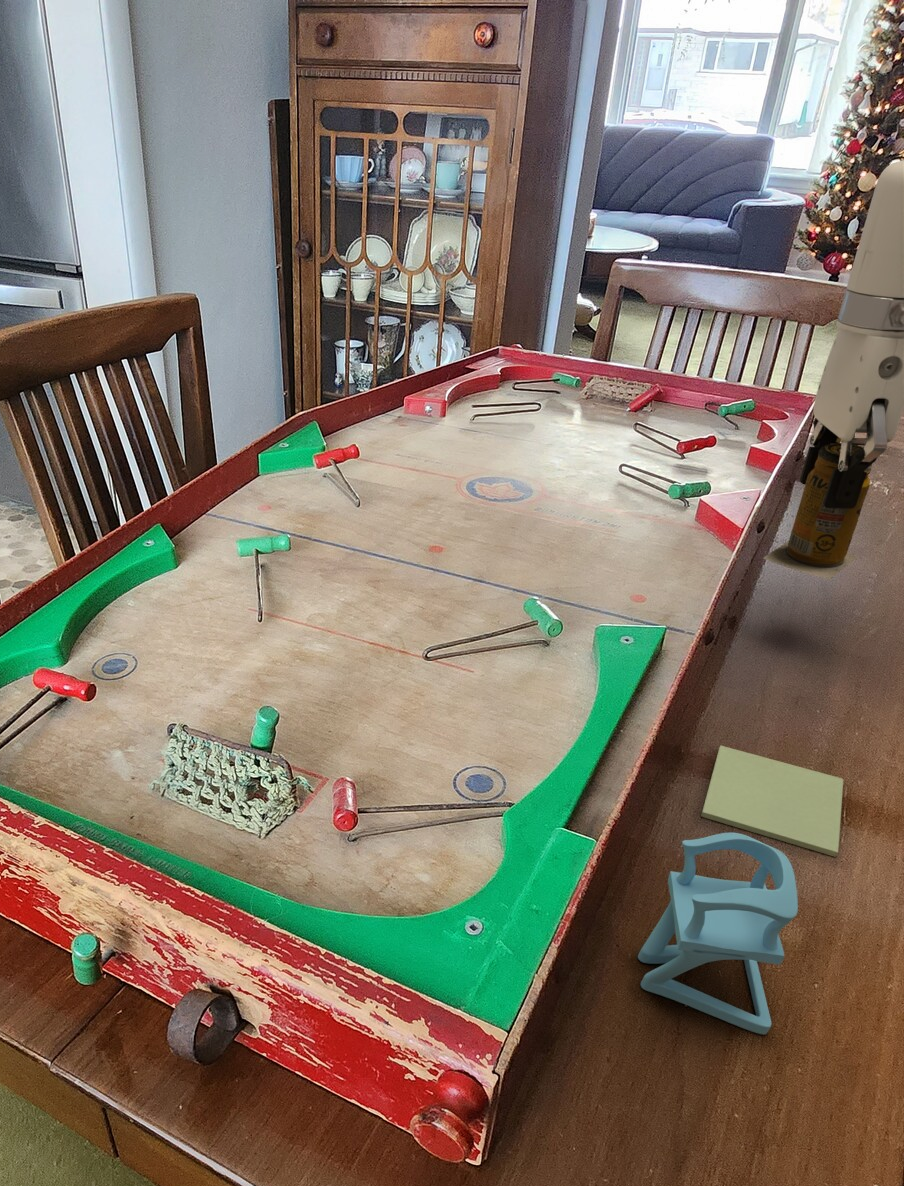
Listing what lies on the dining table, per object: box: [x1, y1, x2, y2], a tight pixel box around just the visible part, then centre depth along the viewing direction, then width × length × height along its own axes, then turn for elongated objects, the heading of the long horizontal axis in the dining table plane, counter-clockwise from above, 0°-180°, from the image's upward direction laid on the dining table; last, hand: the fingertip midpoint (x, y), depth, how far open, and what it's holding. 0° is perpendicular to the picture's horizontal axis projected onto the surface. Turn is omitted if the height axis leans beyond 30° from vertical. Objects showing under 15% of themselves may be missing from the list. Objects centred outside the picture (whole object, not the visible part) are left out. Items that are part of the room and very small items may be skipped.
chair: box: [637, 832, 799, 1036], centre depth 61 cm, size 8×8×12 cm
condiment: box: [762, 442, 872, 581], centre depth 97 cm, size 7×8×12 cm
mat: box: [700, 745, 844, 858], centre depth 81 cm, size 11×11×1 cm
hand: (826, 493), depth 96 cm, fingers closed on condiment, 6 cm apart
